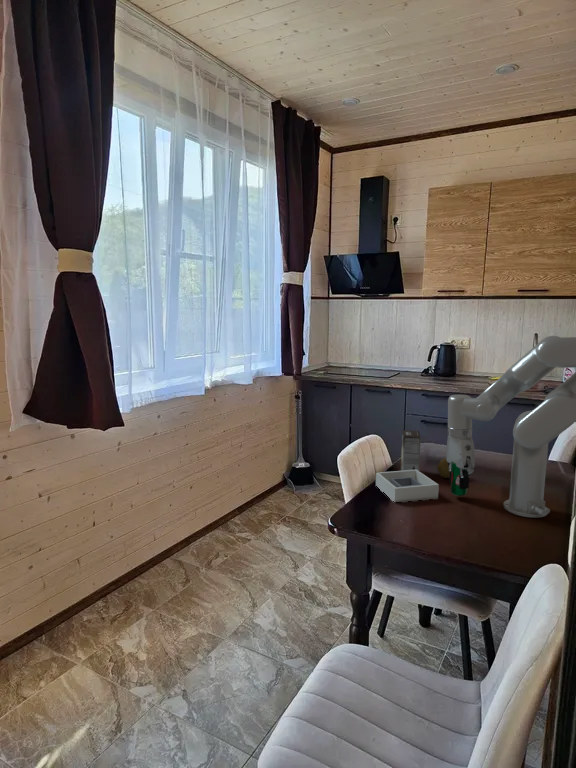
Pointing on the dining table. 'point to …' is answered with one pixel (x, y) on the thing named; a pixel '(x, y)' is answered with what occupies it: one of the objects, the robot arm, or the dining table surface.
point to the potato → (444, 468)
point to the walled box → (407, 485)
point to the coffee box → (410, 450)
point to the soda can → (456, 480)
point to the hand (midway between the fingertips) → (458, 485)
